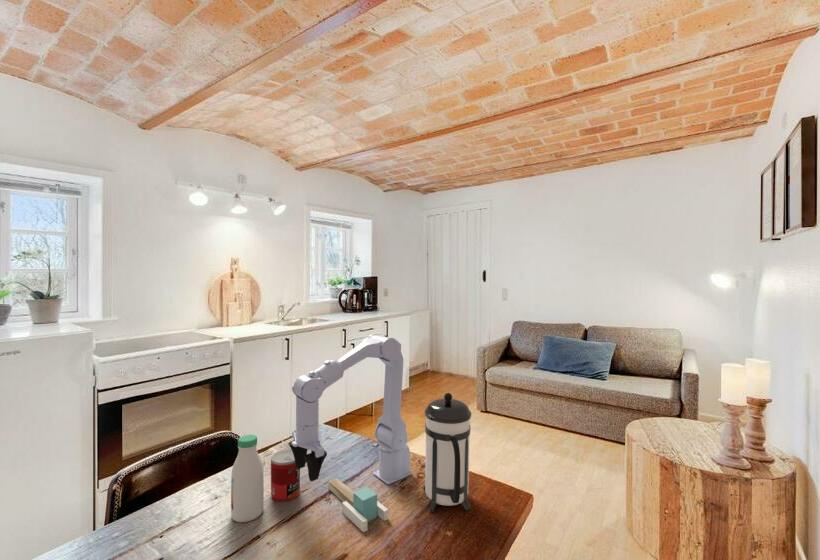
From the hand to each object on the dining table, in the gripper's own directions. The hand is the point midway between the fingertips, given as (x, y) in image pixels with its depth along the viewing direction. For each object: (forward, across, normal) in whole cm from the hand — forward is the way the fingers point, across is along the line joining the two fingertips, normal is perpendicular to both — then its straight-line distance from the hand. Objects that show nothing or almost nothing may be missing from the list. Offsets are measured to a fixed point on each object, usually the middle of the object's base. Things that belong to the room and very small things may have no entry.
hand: (307, 473), depth 100 cm
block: (+10, +12, +10) cm, 19 cm away
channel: (+10, +11, +11) cm, 19 cm away
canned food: (+10, -11, -1) cm, 15 cm away
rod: (+10, +1, +11) cm, 15 cm away
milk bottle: (+10, -9, -12) cm, 18 cm away
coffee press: (+10, +21, +32) cm, 39 cm away
